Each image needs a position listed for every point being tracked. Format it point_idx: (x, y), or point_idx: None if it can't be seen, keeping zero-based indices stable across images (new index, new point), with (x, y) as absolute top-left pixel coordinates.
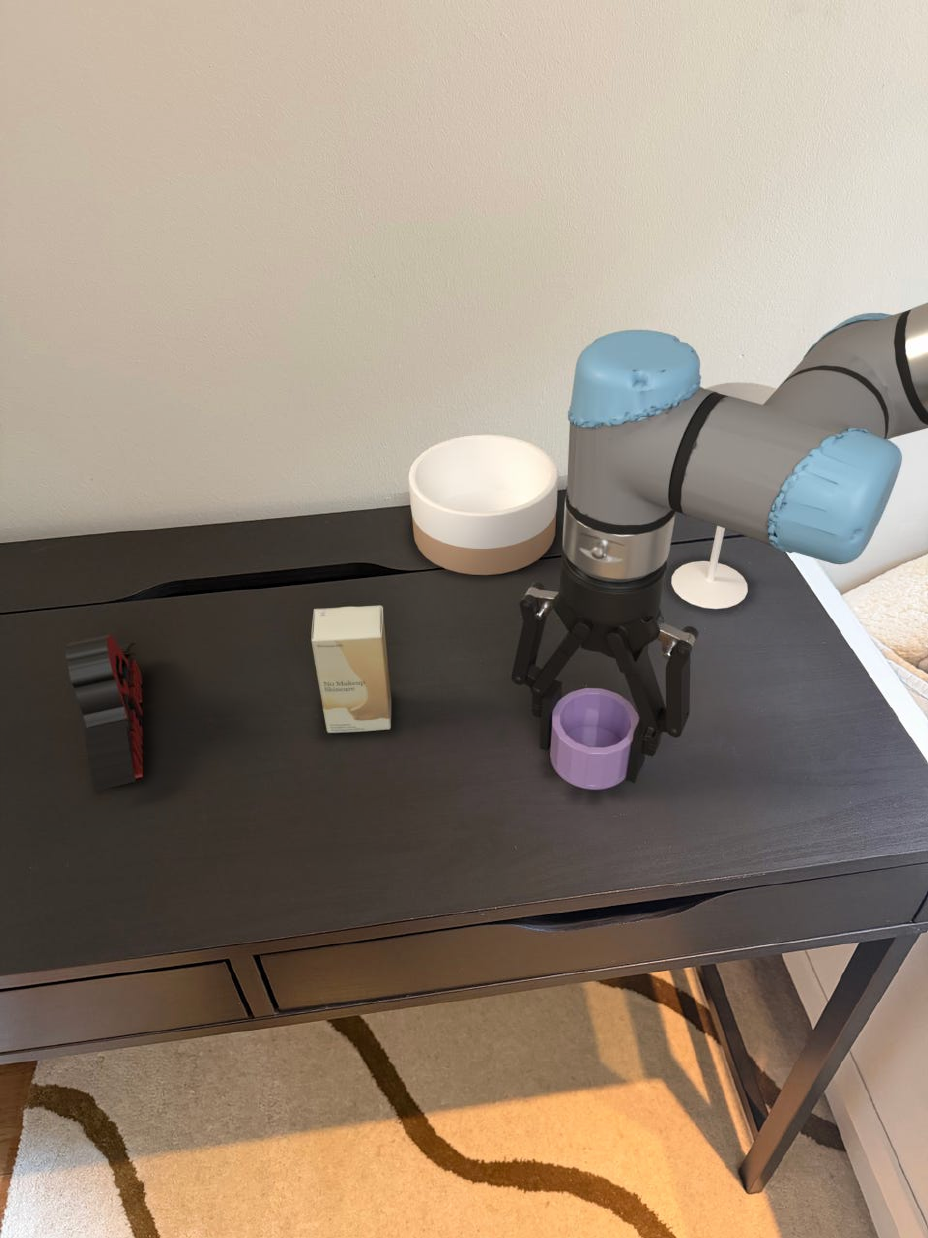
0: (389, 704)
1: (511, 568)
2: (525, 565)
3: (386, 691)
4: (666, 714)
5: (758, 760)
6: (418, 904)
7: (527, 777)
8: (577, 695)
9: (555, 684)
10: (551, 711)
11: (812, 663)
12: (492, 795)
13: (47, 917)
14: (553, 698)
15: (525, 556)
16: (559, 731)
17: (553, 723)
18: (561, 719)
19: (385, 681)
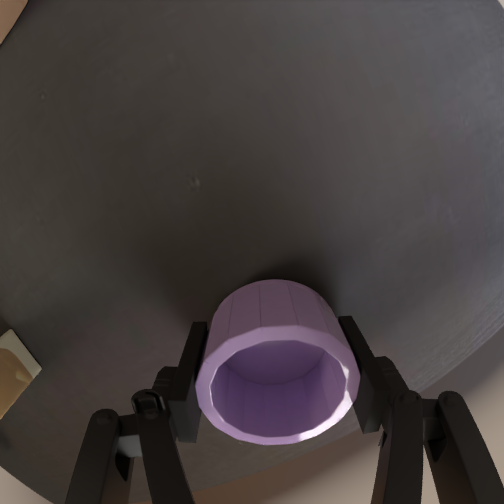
0: (20, 374)
1: (5, 30)
2: (21, 9)
3: (10, 405)
4: (431, 468)
5: (476, 218)
6: (196, 487)
7: None
8: (221, 364)
9: (178, 410)
10: (198, 413)
11: (483, 20)
12: None
13: (47, 495)
14: (193, 429)
15: (11, 5)
16: (231, 432)
17: (214, 425)
18: (214, 381)
19: (2, 416)
